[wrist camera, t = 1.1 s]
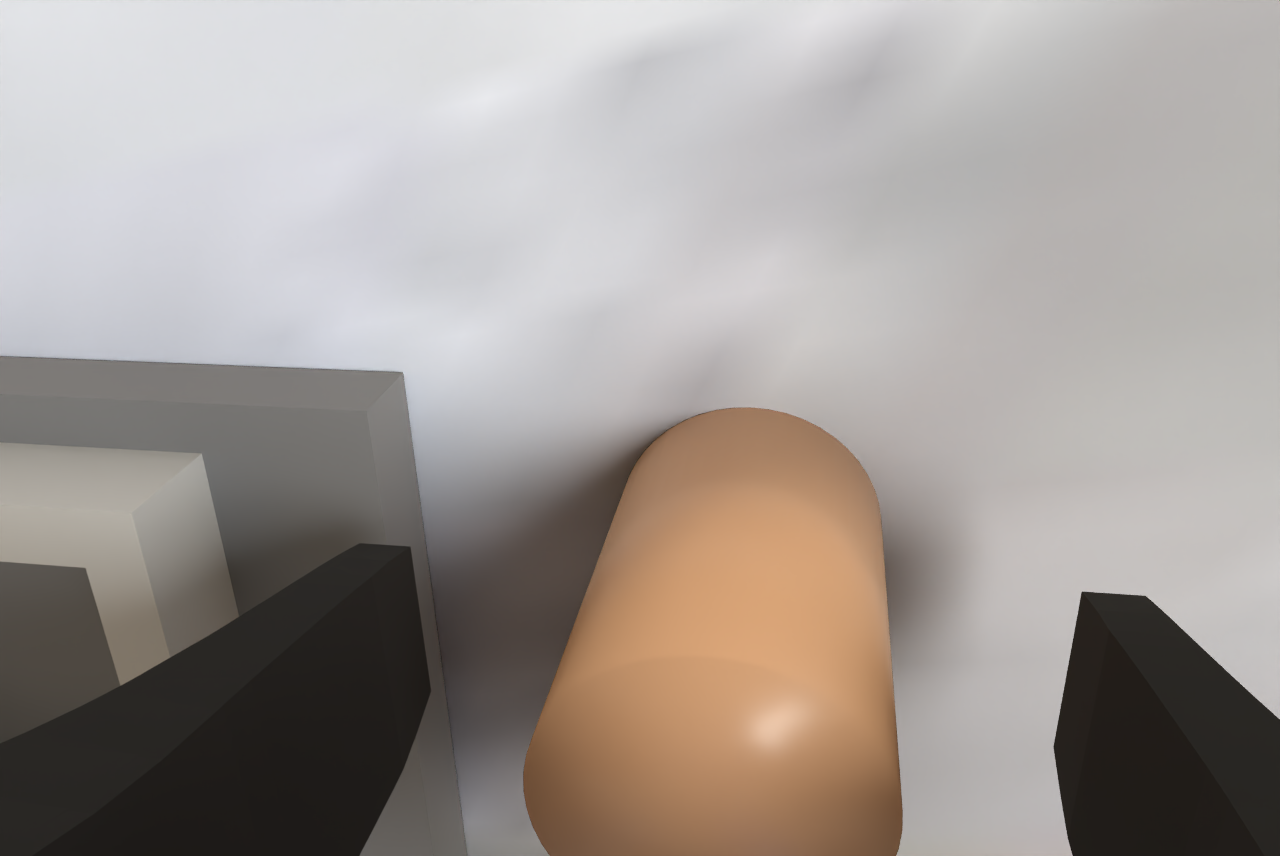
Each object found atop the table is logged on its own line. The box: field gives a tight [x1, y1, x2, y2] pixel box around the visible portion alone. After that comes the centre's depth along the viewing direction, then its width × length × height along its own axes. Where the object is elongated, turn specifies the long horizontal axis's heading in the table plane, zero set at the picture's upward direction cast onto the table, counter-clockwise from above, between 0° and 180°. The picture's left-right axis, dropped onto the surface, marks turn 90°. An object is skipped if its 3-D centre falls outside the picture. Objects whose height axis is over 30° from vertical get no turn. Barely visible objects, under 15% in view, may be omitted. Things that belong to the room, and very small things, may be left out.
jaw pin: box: [523, 408, 903, 856], centre depth 12 cm, size 3×3×5 cm
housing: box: [0, 356, 467, 856], centre depth 17 cm, size 15×11×3 cm
